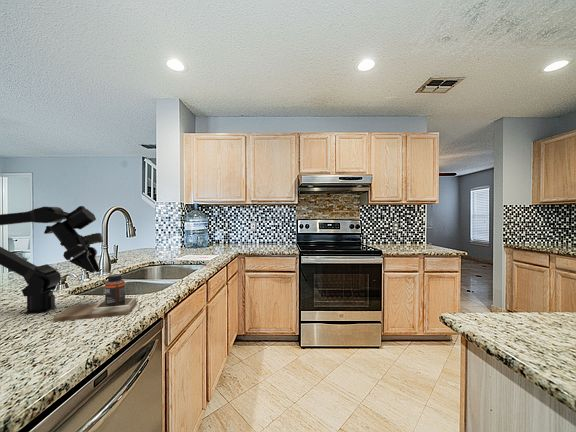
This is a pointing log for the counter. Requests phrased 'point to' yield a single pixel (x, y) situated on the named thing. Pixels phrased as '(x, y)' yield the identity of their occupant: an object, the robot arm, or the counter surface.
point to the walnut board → (96, 310)
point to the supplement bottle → (114, 291)
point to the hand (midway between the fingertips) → (96, 271)
